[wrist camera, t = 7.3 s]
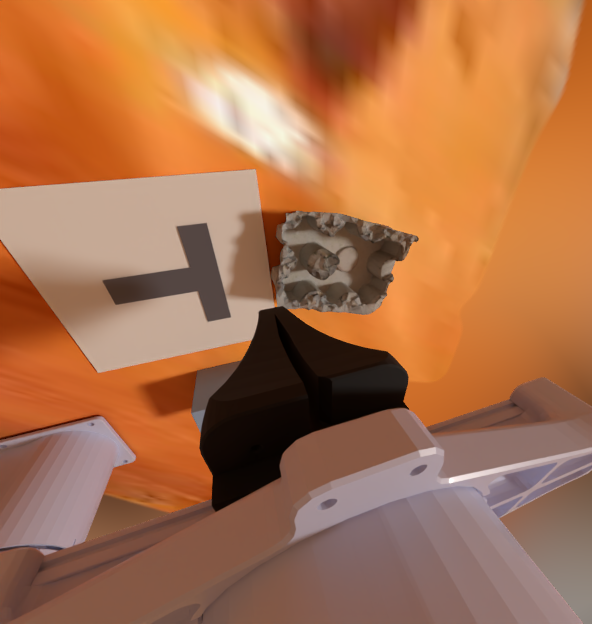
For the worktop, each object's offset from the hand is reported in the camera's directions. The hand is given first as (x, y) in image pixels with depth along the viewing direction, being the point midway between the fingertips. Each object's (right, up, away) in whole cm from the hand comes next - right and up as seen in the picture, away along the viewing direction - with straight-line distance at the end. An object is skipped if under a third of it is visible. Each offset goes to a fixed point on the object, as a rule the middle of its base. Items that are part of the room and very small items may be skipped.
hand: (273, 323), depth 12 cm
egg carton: (+4, +5, +8) cm, 11 cm away
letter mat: (-9, +3, +6) cm, 11 cm away
